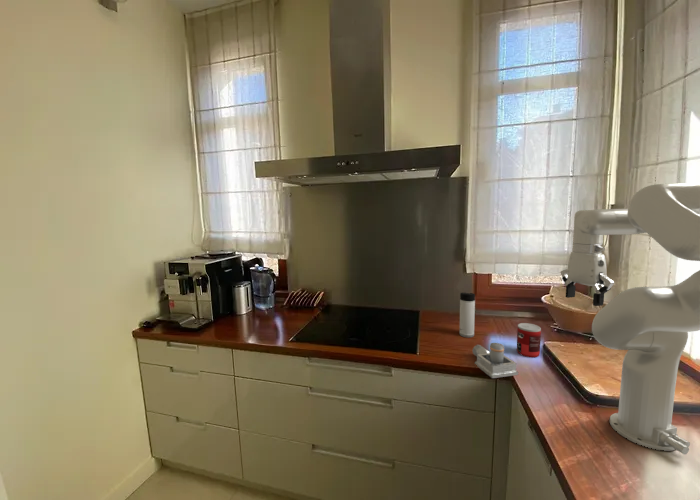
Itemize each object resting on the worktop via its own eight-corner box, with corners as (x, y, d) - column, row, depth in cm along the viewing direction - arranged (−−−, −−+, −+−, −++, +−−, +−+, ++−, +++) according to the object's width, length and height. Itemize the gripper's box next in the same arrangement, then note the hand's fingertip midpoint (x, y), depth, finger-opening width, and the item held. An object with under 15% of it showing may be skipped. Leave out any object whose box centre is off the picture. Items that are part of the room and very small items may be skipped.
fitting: (518, 374, 106) (518, 362, 105) (492, 378, 104) (492, 366, 103) (488, 354, 121) (489, 343, 121) (465, 356, 119) (466, 346, 119)
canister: (506, 369, 108) (507, 347, 106) (494, 370, 107) (495, 348, 106) (497, 362, 112) (498, 342, 111) (486, 364, 111) (487, 343, 110)
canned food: (518, 347, 127) (519, 321, 125) (541, 352, 122) (542, 325, 120) (514, 354, 121) (515, 327, 119) (538, 359, 116) (539, 331, 114)
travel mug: (458, 336, 139) (459, 293, 136) (460, 331, 144) (460, 290, 142) (473, 338, 136) (474, 294, 133) (474, 333, 142) (475, 291, 139)
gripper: (625, 251, 90) (620, 308, 92) (572, 245, 107) (569, 293, 109) (604, 252, 89) (599, 310, 91) (554, 246, 106) (551, 295, 108)
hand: (583, 301), depth 100 cm, fingers open, 9 cm apart
